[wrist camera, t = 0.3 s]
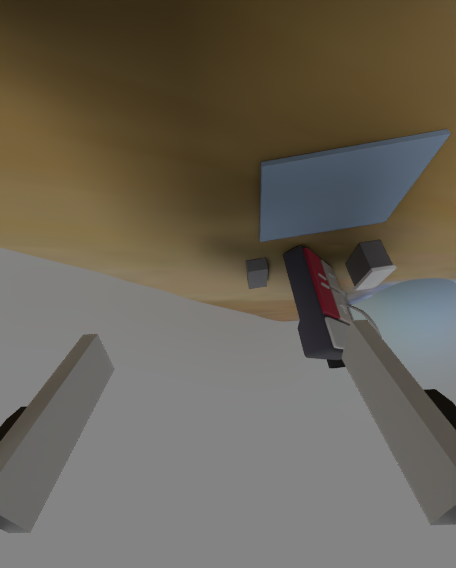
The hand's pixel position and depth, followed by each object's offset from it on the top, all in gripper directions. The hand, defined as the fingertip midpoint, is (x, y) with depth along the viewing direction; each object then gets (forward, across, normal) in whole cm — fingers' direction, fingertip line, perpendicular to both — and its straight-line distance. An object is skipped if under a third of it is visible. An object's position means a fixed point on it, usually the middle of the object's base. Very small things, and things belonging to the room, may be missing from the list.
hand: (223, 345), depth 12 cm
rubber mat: (+17, +12, +4) cm, 21 cm away
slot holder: (+25, +13, -8) cm, 29 cm away
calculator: (+25, +13, -7) cm, 29 cm away
